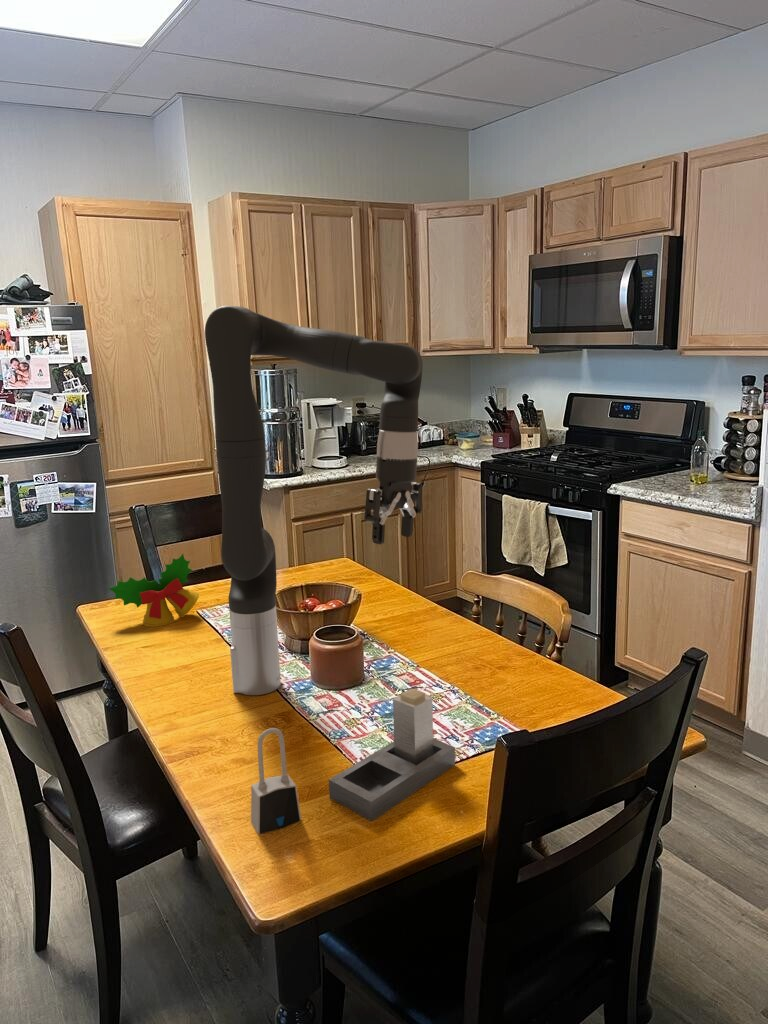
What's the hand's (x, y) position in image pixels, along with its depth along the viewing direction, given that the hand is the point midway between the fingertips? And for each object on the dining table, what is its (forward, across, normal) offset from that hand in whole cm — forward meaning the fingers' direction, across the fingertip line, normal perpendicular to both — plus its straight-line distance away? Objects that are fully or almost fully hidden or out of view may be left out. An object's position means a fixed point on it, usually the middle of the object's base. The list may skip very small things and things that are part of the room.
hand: (392, 539), depth 147 cm
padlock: (+34, +41, +13) cm, 55 cm away
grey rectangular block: (+32, +17, +20) cm, 41 cm away
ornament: (+36, +2, -73) cm, 81 cm away
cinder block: (+32, +22, +20) cm, 44 cm away
